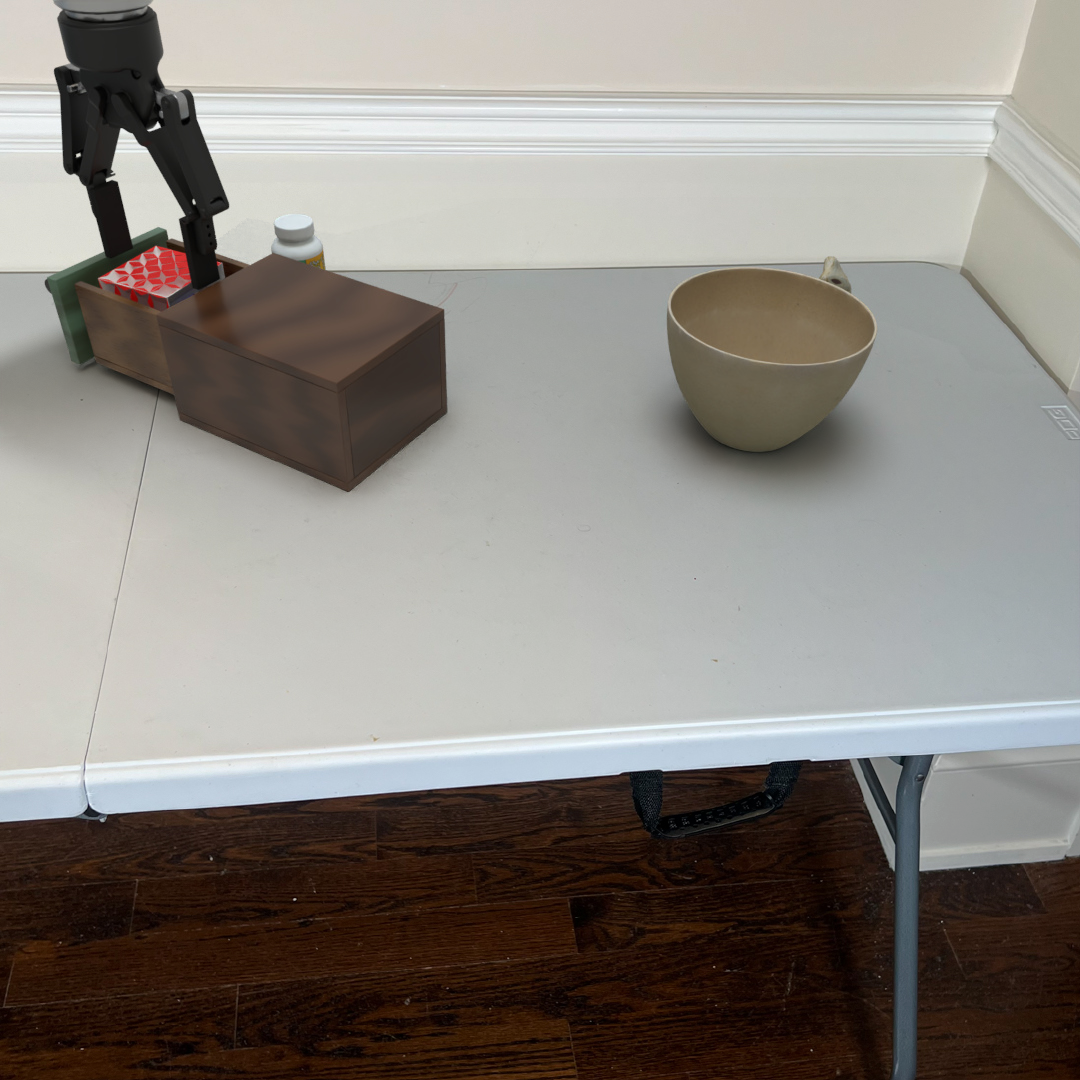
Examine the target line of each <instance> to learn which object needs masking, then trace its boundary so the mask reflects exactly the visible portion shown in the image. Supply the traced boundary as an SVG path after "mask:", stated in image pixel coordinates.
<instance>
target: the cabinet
mask: <svg viewBox="0 0 1080 1080" xmlns="http://www.w3.org/2000/svg"><path fill="white" fill-rule="evenodd" d="M156 318H157V323H158V327H159V331H160V336H161V340H162V344H163V349H164V353H165V357H166V362H167V366H168V370H169V375H170V379H171V383H172V388H173V392H174V395H173V397H174V400H175V404H176V408H177V414H178V418H179V421H182V422H184V423H186V424H189V425H191V426H193V427H196V428H198V429H201V430H203V431H205V432H208V433H210V434H213V435H215V436H217V437H218V438H222V439H224V440H226V441H229V442H231V443H233V444H236V445H238V446H240V447H243V448H245V449H247V450H249V451H252V452H254V453H257V454H259V455H261V456H263V457H266V458H269V459H270V460H273V461H275V462H278V463H280V464H283V465H285V466H287V467H289V468H292V469H294V470H297V471H299V472H302V473H304V474H306V475H308V476H311V477H312V478H315V479H318V480H319V481H323V482H325V483H327V484H330V485H332V486H334V487H336V488H339V489H342V490H343V491H345V492H350V491H352V490H353V489H354V488H356V487H357V485H359V484H360V483H361V482H363V481H364V480H365V479H367V477H369V476H370V475H371V474H373V473H374V472H375V471H376V470H378V469H379V468H380V467H381V466H382V465H384V464H385V463H386V462H388V460H390V459H391V458H392V457H394V456H395V455H396V454H398V453H399V452H400V451H401V450H402V449H404V447H406V446H407V445H408V444H410V443H411V442H412V441H414V440H415V439H416V438H417V437H418V436H420V435H421V434H422V433H423V432H425V431H426V430H427V429H428V428H429V427H431V426H432V425H433V424H435V422H437V421H438V420H439V419H440V418H441V417H443V416H444V415H445V414H447V413H448V390H447V389H448V388H447V387H448V384H447V383H448V382H447V352H446V351H447V350H446V347H447V346H446V321H445V319H446V318H445V309H444V308H442V307H439V306H436V305H433V304H430V303H426V302H425V301H424V302H423V301H421V300H418V299H414V298H412V297H408V296H406V295H403V294H399V293H396V292H393V291H391V290H388V289H384V288H381V287H378V286H375V285H372V284H369V283H366V282H363V281H360V280H357V279H354V278H351V277H347V276H345V275H342V274H338V273H336V272H333V271H330V270H324V269H321V268H318V267H315V266H312V265H309V264H306V263H303V262H300V261H296V260H293V259H290V258H287V257H284V256H281V255H278V254H275V253H272V252H271V253H270V254H268V255H265V256H264V257H263V258H261V259H259V260H257V261H255V262H253V263H251V264H249V266H247V267H245V268H244V269H242V270H240V271H238V272H236V273H234V274H232V275H230V276H228V277H226V278H225V279H223V280H221V281H219V282H217V283H215V284H213V285H211V286H209V287H207V288H206V289H204V290H202V291H200V292H198V293H196V294H194V295H192V296H190V297H188V298H187V299H185V300H183V301H181V302H179V303H177V304H175V305H173V306H171V307H170V308H168V309H166V310H164V311H162V312H160V313H158V314H156Z"/></svg>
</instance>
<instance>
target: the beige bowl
mask: <svg viewBox="0 0 1080 1080" xmlns="http://www.w3.org/2000/svg"><path fill="white" fill-rule="evenodd" d="M666 307H667V309H666V333H667V334H666V335H667V344H668V351H669V356H670V362H671V366H672V369H673V373H674V377H675V380H676V383H677V385H678V389H679V391H680V392H681V395H682V397H683V398H684V401H685V403H686V404H687V406H688V408H689V409H690V411H691V412H692V414H693V416H694V417H695V418H696V420H697V421H698V423H699V424H700V425H701V427H702V428H703V429H704V431H705V432H707V434H708V435H709V436H711V437H712V438H713V439H714V440H715V441H717V442H719V443H720V444H722V445H724V446H727V447H728V448H732V449H736V450H739V451H743V452H752V453H763V452H772V451H776V450H779V449H781V448H783V447H785V446H788V445H790V444H791V443H793V442H794V441H796V440H798V439H799V438H801V437H803V436H804V435H805V434H807V433H808V432H810V431H811V430H813V429H814V428H816V426H818V425H819V424H820V423H821V422H822V421H824V419H826V418H827V417H828V415H830V414H831V413H832V412H833V410H834V409H836V407H837V406H838V405H839V404H840V403H841V402H842V400H843V399H844V398H845V397H846V395H847V394H848V392H849V391H850V389H851V388H852V387H853V386H854V384H855V382H856V381H857V379H858V377H859V375H860V373H861V372H862V370H863V368H864V367H865V364H866V362H867V361H868V358H869V356H870V355H871V351H872V350H873V347H874V344H875V341H876V338H877V335H878V323H877V320H876V317H875V315H874V314H873V312H872V311H871V309H870V308H869V307H868V306H867V305H866V304H865V303H864V302H863V301H862V300H861V299H860V298H858V297H857V296H855V295H854V294H852V292H851V293H849V292H847V291H845V290H844V289H842V288H840V287H838V286H836V285H833V284H831V283H829V282H826V281H824V280H821V279H819V277H815V276H811V275H808V274H804V273H800V272H796V271H791V270H784V269H779V268H771V267H770V268H769V267H760V266H759V267H758V266H735V267H723V268H717V269H711V270H707V271H704V272H700V273H697V274H694V275H692V276H690V277H688V278H686V279H684V280H683V281H681V282H680V283H678V284H677V285H676V286H675V287H674V289H673V290H672V291H671V292H670V294H669V295H668V300H667V306H666Z"/></svg>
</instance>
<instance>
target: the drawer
mask: <svg viewBox="0 0 1080 1080" xmlns="http://www.w3.org/2000/svg"><path fill="white" fill-rule="evenodd" d="M131 240H132V245H133V249H131V250H129V251H127V252H124V253H122V254H120V255H118V256H116V257H114V258H108V257H106V256H105V252H104V251H102V252H100V253H97V254H95V255H93V256H91V257H88V258H87V259H84V260H82V261H80V262H78V263H75V264H73V265H71V266H69V267H67V268H64V269H63V270H60V271H58V272H55V273H53V274H51V275H49V276H47V277H46V279H45V280H44V287H45V288H46V290H47V292H49V293H50V294H51V296H52V300H53V303H54V307H55V309H56V313H57V317H58V320H59V323H60V327H61V331H62V333H63V337H64V340H65V343H66V347H67V350H68V354H69V356H70V360H71V362H72V363H75V364H76V365H82V364H84V363H86V362H88V361H90V360H92V359H94V360H95V363H97V364H98V365H101V366H104V367H106V368H108V369H110V370H113V371H116V372H118V373H120V374H123V375H125V376H127V377H130V378H133V379H135V380H137V381H140V382H142V383H144V384H147V385H149V386H152V387H155V388H156V389H159V390H161V391H163V392H166V393H169V394H171V395H173V396H174V392H173V388H172V383H171V379H170V375H169V370H168V366H167V362H166V357H165V353H164V349H163V344H162V340H161V336H160V331H159V327H158V323H157V318H156V314H158V313H160V312H161V311H159V310H156V309H154V308H151V307H148V306H146V305H143V304H140V303H138V302H135V301H132V300H130V299H127V298H124V297H122V296H119V295H116V294H114V293H111V292H108V291H106V290H103V289H101V288H100V285H99V281H98V278H99V277H101V276H103V275H105V274H107V273H108V272H110V271H112V270H114V269H115V268H117V267H119V266H121V265H123V264H124V263H126V262H128V261H130V260H131V259H133V258H135V257H137V256H138V255H140V254H142V253H144V252H146V251H147V250H149V249H151V248H153V247H154V246H159V247H163V248H167V249H171V250H174V251H178V252H182V253H185V248H184V243H183V241H181V240H178V239H175V238H169V234H168V230H167V229H166V228H164V227H160V226H157V227H154V228H153V229H150V230H148V231H146V232H144V233H141V234H140V235H137V236H135V237H133V238H131ZM215 254H216V259H217V262H220V263H222V264H223V269H224V275H225V278H226V277H228V276H230V275H232V274H234V273H236V272H238V271H240V270H242V269H244V268H245V267H247V266H249V265H250V263H249V264H248V263H246V262H242V261H240V260H237V259H235V258H231V257H228V256H226V255H223V254H219V253H216V252H215Z"/></svg>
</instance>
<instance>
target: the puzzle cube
mask: <svg viewBox="0 0 1080 1080" xmlns="http://www.w3.org/2000/svg"><path fill="white" fill-rule="evenodd" d="M217 265H218V271H219V276H220V279H219V280H217V281H215V282H213V283H211V284H209V285H208V286H206V287H204V288H202V289H200V290H197V289H194V288H192V283H191V278H190V273H189V268H188V263H187V258H186V253H182V252H178V251H174V250H171V249H167V248H163V247H159V246H154V247H153V248H151V249H149V250H147V251H146V252H144V253H142V254H140V255H138V256H137V257H135V258H133V259H131V260H130V261H128V262H126V263H124V264H123V265H121V266H119V267H117V268H115V269H114V270H112V271H110V272H108V273H107V274H105V275H103V276H101V277H99V278H98V281H99V285H100V288H101V289H103V290H106V291H108V292H111V293H114V294H116V295H119V296H122V297H124V298H127V299H130V300H132V301H135V302H138V303H140V304H143V305H146V306H148V307H151V308H154V309H156V310H159V311H161V312H162V311H164V310H166V309H168V308H170V307H171V306H173V305H175V304H177V303H179V302H181V301H183V300H185V299H187V298H188V297H190V296H192V295H194V294H196V293H198V292H200V291H202V290H204V289H206V288H207V287H209V286H211V285H213V284H215V283H217V282H219V281H221V280H223V279H225V275H224V269H223V264H222V263H220V262H217Z"/></svg>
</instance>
